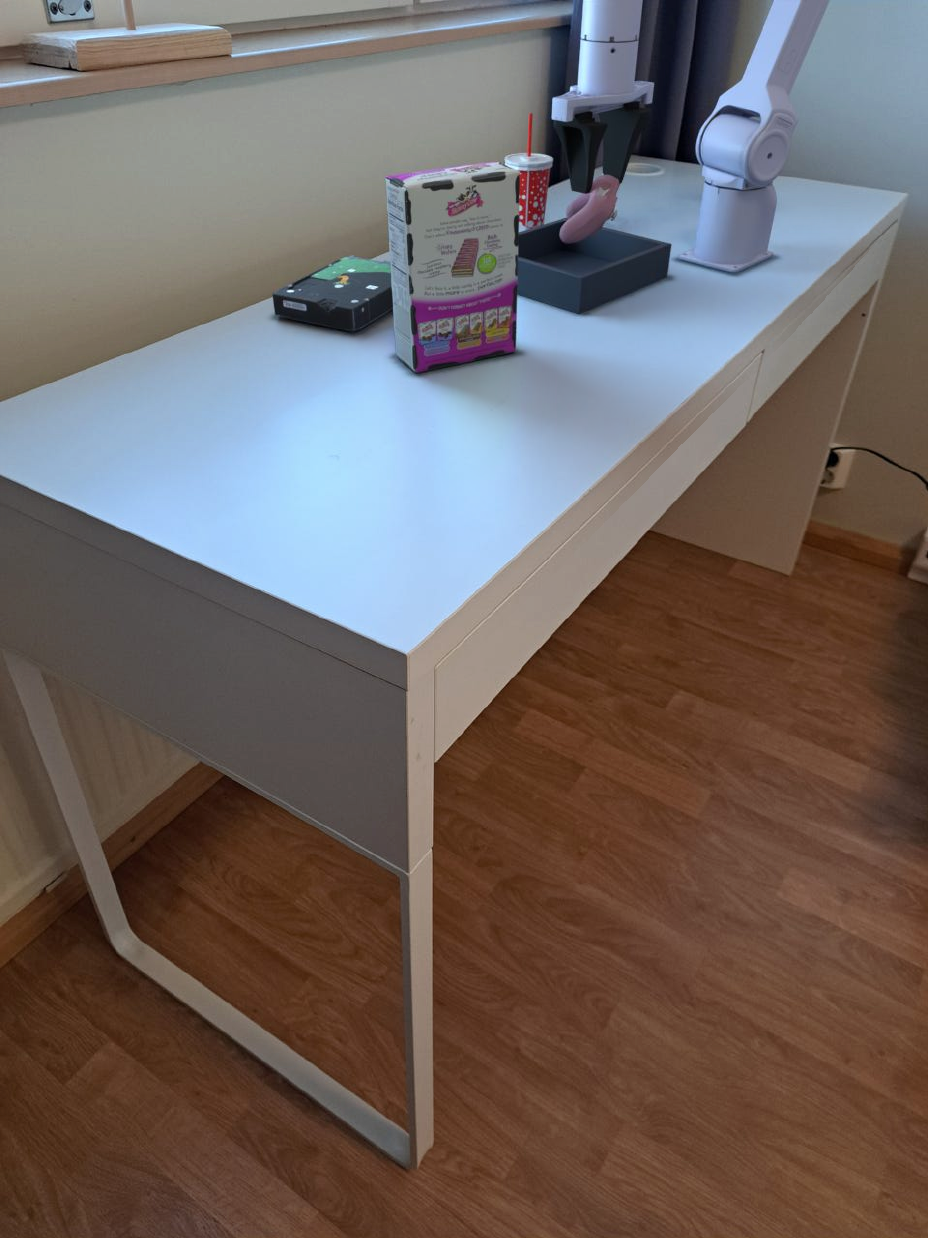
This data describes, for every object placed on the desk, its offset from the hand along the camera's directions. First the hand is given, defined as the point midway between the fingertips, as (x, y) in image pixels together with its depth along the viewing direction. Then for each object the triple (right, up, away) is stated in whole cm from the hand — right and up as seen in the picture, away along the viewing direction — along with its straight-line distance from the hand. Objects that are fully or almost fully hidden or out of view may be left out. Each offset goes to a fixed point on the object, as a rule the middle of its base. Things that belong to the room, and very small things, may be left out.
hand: (597, 186), depth 99 cm
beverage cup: (-6, +4, +22) cm, 24 cm away
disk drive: (-27, -13, +1) cm, 29 cm away
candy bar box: (-15, -21, -10) cm, 28 cm away
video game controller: (-1, -4, +2) cm, 5 cm away
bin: (-2, -7, +8) cm, 11 cm away
